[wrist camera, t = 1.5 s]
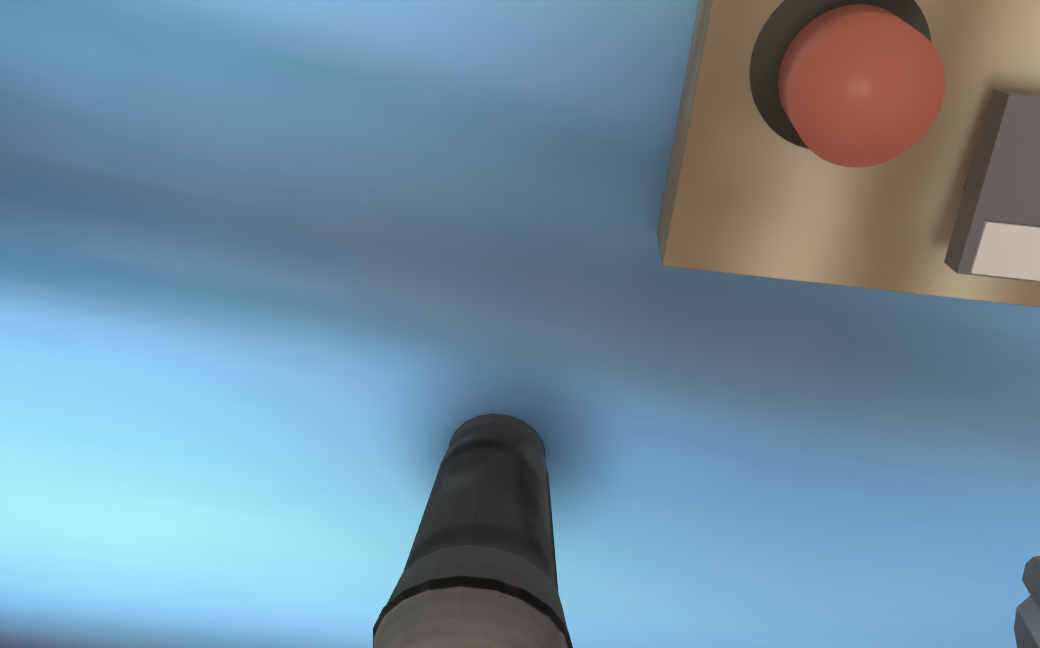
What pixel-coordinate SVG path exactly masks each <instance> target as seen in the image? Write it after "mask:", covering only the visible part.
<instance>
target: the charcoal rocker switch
mask: <svg viewBox="0 0 1040 648" xmlns="http://www.w3.org/2000/svg"><path fill="white" fill-rule="evenodd" d="M944 263H945V264H946V265H947V266H949V267H950V268H951V269H952V270H953V271H955V272H956V273H957V274H966V275H975V276H984V277H994V278H1003V279H1012V280H1021V281H1030V282H1039V283H1040V94H1034V93H1025V92H1016V91H1007V90H997V89H993V92H992V95H991V99H990V102H989V106H988V109H987V113H986V116H985V120H984V123H983V127H982V130H981V134H980V137H979V141H978V144H977V148H976V151H975V155H974V158H973V162H972V165H971V169H970V172H969V176H968V179H967V183H966V186H965V190H964V193H963V197H962V200H961V204H960V207H959V211H958V214H957V218H956V221H955V225H954V228H953V232H952V235H951V239H950V242H949V246H948V249H947V253H946V256H945V260H944Z"/></svg>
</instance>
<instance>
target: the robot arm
mask: <svg viewBox="0 0 1040 648" xmlns="http://www.w3.org/2000/svg"><path fill="white" fill-rule="evenodd" d="M1022 581H1023V582H1024V584H1025V586H1026V588H1027V589H1028V591H1029V593H1030V596H1029V597H1028V598H1027V599H1026V600H1025V601H1024V602H1022V603H1021V604H1020V605H1019V606H1018V607H1017V610H1016V617H1015V625H1014V631H1015V637H1016V643H1017V648H1040V556H1037V557H1033V558H1032V559H1031V560H1029V561H1028V562H1027V563H1026V565H1025V569H1024V574H1023V579H1022Z"/></svg>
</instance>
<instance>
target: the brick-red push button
mask: <svg viewBox="0 0 1040 648" xmlns="http://www.w3.org/2000/svg"><path fill="white" fill-rule="evenodd" d="M945 87H946V80H945V71H944V66H943V63H942V60H941V57H940V55H939V53H938V51H937V50H936V48H935V47H934V46H933V44H932V43H931V42H930V41H929V40H928V39H927V38H926V37H925V36H924V35H923V34H921V33H920V32H918V31H917V30H916V29H914V28H913V27H912V26H910V25H909V24H907V23H906V22H905V21H903V20H902V19H900V18H899V17H898V16H896V15H895V14H894V13H892V12H890V11H888V10H886V9H883V8H880V7H877V6H872V5H864V4H856V5H847V6H843V7H838V8H836V9H833V10H830V11H828V12H826V13H824V14H822V15H820V16H818V17H817V18H815V19H814V20H812V21H811V22H810V23H809V24H807V25H806V26H805V27H804V28H803V29H802V30H801V31H800V32H799V33H798V34H797V35H796V37H795V38H794V39H793V41H792V42H791V43H790V45H789V47H788V49H787V50H786V52H785V55H784V57H783V59H782V63H781V66H780V70H779V76H778V91H779V97H780V101H781V104H782V107H783V109H784V111H785V113H786V115H787V116H788V118H789V120H790V121H791V123H792V124H793V126H794V128H795V129H796V131H797V132H798V134H799V136H800V137H801V139H802V140H803V142H804V143H805V144H806V146H807V147H808V148H809V149H810V150H811V151H812V152H813V153H814V154H816V155H817V156H819V157H820V158H822V159H823V160H825V161H828V162H830V163H832V164H836V165H839V166H844V167H853V168H861V167H870V166H875V165H879V164H882V163H885V162H888V161H890V160H892V159H895V158H897V157H898V156H900V155H902V154H904V153H905V152H907V151H908V150H909V149H911V148H912V147H913V146H914V145H916V144H917V143H918V142H919V141H920V140H921V139H922V138H923V137H924V135H925V134H926V133H927V132H928V131H929V129H930V128H931V126H932V125H933V124H934V122H935V120H936V118H937V116H938V114H939V112H940V109H941V107H942V103H943V99H944V95H945Z"/></svg>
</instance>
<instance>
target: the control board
mask: <svg viewBox="0 0 1040 648" xmlns="http://www.w3.org/2000/svg"><path fill="white" fill-rule="evenodd" d="M856 4H864V5H872V6H877V7H880V8H883V9H886V10H888V11H890V12H892V13H894V14H895V15H896V16H898V17H899V18H900V19H902V20H903V21H905V22H906V23H907V24H909V25H910V26H912V27H913V28H914V29H916V30H917V31H918V32H920V33H921V34H923V35H924V36H925V37H926V38H927V39H928V40H929V41H930V42H931V43H932V44H933V46H934V47H935V48H936V50H937V51H938V53H939V55H940V57H941V60H942V63H943V66H944V71H945V80H946V87H945V95H944V99H943V103H942V107H941V109H940V112H939V114H938V116H937V118H936V120H935V122H934V124H933V125H932V126H931V128H930V129H929V131H928V132H927V133H926V134H925V135H924V137H923V138H922V139H921V140H920V141H919V142H918V143H917V144H916V145H914V146H913V147H912V148H911V149H909V150H908V151H907V152H905V153H904V154H902V155H900V156H898V157H897V158H895V159H892V160H890V161H888V162H885V163H882V164H879V165H875V166H870V167H861V168H853V167H844V166H839V165H836V164H832V163H830V162H828V161H825V160H823V159H822V158H820V157H819V156H817V155H816V154H814V153H813V152H812V151H811V150H810V149H809V148H808V147H807V146H806V144H805V143H804V142H803V140H802V139H801V137H800V136H799V134H798V132H797V131H796V129H795V128H794V126H793V124H792V123H791V121H790V120H789V118H788V116H787V115H786V113H785V111H784V109H783V107H782V104H781V101H780V97H779V91H778V76H779V70H780V66H781V63H782V59H783V57H784V55H785V52H786V50H787V49H788V47H789V45H790V43H791V42H792V41H793V39H794V38H795V37H796V35H797V34H798V33H799V32H800V31H801V30H802V29H803V28H804V27H805V26H806V25H807V24H809V23H810V22H811V21H812V20H814V19H815V18H817V17H818V16H820V15H822V14H824V13H826V12H828V11H830V10H833V9H836V8H838V7H843V6H847V5H856ZM993 89H997V90H1007V91H1016V92H1025V93H1034V94H1040V0H699V6H698V11H697V17H696V22H695V28H694V33H693V39H692V44H691V50H690V55H689V61H688V66H687V72H686V77H685V82H684V88H683V93H682V99H681V104H680V110H679V115H678V121H677V126H676V132H675V137H674V143H673V148H672V154H671V159H670V164H669V170H668V175H667V181H666V186H665V192H664V197H663V203H662V208H661V214H660V219H659V225H658V230H657V236H658V241H659V247H660V253H661V259H662V265H663V266H669V267H678V268H688V269H697V270H706V271H715V272H724V273H733V274H742V275H752V276H761V277H770V278H779V279H788V280H797V281H807V282H816V283H825V284H834V285H843V286H852V287H861V288H871V289H880V290H889V291H898V292H907V293H916V294H925V295H935V296H944V297H953V298H962V299H971V300H980V301H989V302H999V303H1008V304H1017V305H1026V306H1035V307H1040V283H1039V282H1030V281H1021V280H1012V279H1003V278H994V277H984V276H975V275H966V274H957V273H956V272H955V271H953V270H952V269H951V268H950V267H949V266H947V265H946V264H945V263H944V260H945V256H946V253H947V249H948V246H949V242H950V239H951V235H952V232H953V228H954V225H955V221H956V218H957V214H958V211H959V207H960V204H961V200H962V197H963V193H964V190H965V186H966V183H967V179H968V176H969V172H970V169H971V165H972V162H973V158H974V155H975V151H976V148H977V144H978V141H979V137H980V134H981V130H982V127H983V123H984V120H985V116H986V113H987V109H988V106H989V102H990V99H991V95H992V92H993Z"/></svg>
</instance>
